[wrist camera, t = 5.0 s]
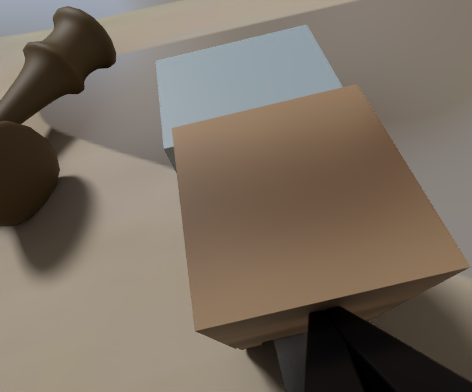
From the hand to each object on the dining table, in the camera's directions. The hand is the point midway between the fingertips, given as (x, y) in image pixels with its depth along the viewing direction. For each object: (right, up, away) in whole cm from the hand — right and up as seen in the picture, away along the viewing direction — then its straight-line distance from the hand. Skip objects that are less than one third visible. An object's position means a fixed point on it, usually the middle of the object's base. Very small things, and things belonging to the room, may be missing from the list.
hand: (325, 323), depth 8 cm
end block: (-1, +6, +11) cm, 13 cm away
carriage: (0, -1, +7) cm, 7 cm away
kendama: (-18, +7, +15) cm, 24 cm away
